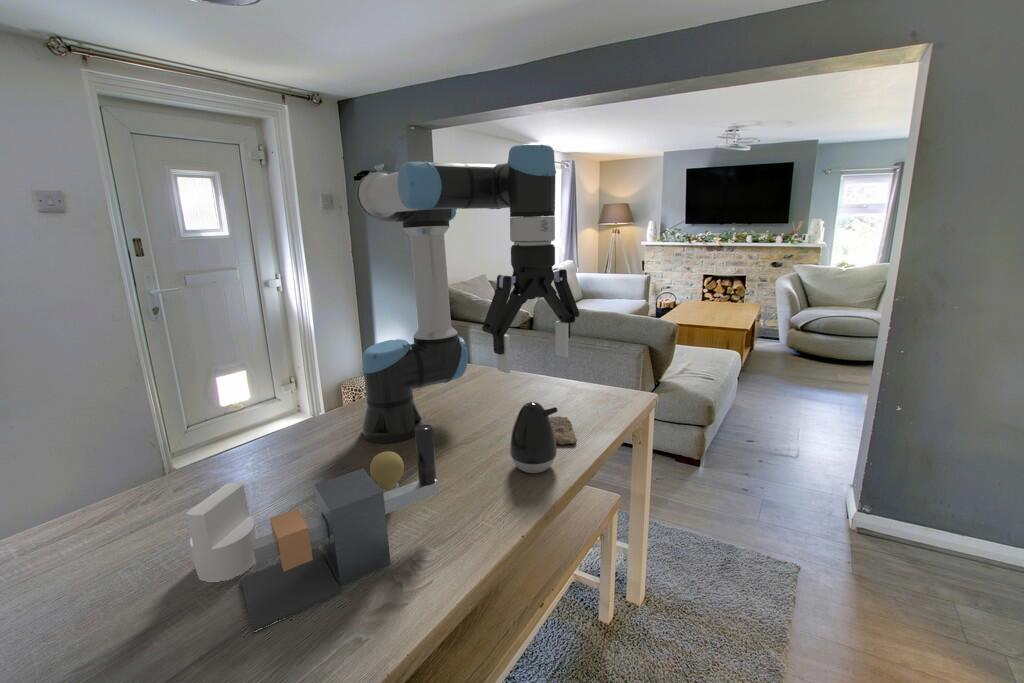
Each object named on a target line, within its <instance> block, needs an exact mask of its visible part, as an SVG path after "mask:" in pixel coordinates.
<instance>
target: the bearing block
mask: <svg viewBox="0 0 1024 683" xmlns="http://www.w3.org/2000/svg"><path fill="white" fill-rule="evenodd" d="M313 486H314V487H313V488H314V494H315V500H316V501H315V503H316V506H317V508H316V509H317V514H318V516H317V517H319V516H321V515H324V516H325V518H326V520H327V522H328V529H329V536H328V537H326V538H323V539H321V542H322V547H323V548H322V549H323V555H324V556H325V558H326V561H327V562H328V564H329V566H330V568H331V570H332V572H333V574H334V575H335V577H336V580H337V582H338V583H339V585H340V587H342V586H344V585H347V584H349V583H350V582H353V581H355V580H357V579H360V578H362V577H364V576H366V575H368V574H371V573H373V572H375V571H377V570H379V569H382V568H384V567H385V566H389V565H390V564H391V563H392V562H391V555H390V553H391V552H390V544H389V536H388V535H389V533H388V525H387V514H385V504H384V495H383V491H382V490H381V489H380V487H379V486H380V485H379V484H378V483H376V482H375V481H374V480H373V478H372V476H371V475H370V474H368V472H367V471H366V470H365V468H360V469H358V470H354V471H351V472H348V473H346V474H343V475H339V476H336V477H333V478H330V479H326V480H324V481H320V482H317V483H314V484H313Z"/></svg>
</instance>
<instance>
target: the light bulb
mask: <svg viewBox="0 0 1024 683" xmlns="http://www.w3.org/2000/svg"><path fill="white" fill-rule="evenodd" d="M404 468H405V464H404V461H403V459H402V457H401V456H400V455H399V454H398V453H397V452H395V451H389V450H388V451H387V450H386V451H382V452H380V453H378V454H376V455H375V456H374V457H373V458H372V459H371V462H370V466H369V472H370V477H371V478H372V479H373V480H374V482H375V483H376V484H377V485H378V486H379V487H380V489H381V490H382V491H383V493H385V492H388V491H391V490H393V489H396V488H399V487H400V486H399V481H400V479H401V477H402V476H403V474H404V471H405V470H404Z"/></svg>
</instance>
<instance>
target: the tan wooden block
mask: <svg viewBox="0 0 1024 683" xmlns="http://www.w3.org/2000/svg"><path fill="white" fill-rule="evenodd" d="M269 521H270V526H271V531H272V533H274V535H275V537H276V540H277V542H278V547H279V553H280V555H279V558H280V562H281V565H282V568H283V571H287V570H289V569H292V568H294V567H297V566H299V565H301V564H304V563H306V562H309V561H311V560H313V557H312V551H311V550H312V546H311V544H312V543H310V538H309V531H308V527H307V525H306V523H305V521H306V520H305V519H304V517H303V515H302V512H301V511H300V509H299V508H296V509H292V510H290V511H287V512H283V513H281V514H279V515H275V516H272V517H270V518H269ZM272 533H271V534H272Z"/></svg>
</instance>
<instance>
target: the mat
mask: <svg viewBox="0 0 1024 683" xmlns="http://www.w3.org/2000/svg"><path fill="white" fill-rule="evenodd" d="M311 551H312V557H313V560H311V561H309V562H306V563H304V564H301V565H299V566H297V567H294V568H292V569H289V570H287V571H283V568H282V565H281V561H280V562H278V563H275V564H273V565H271V566H268V567H265V568H263V569H261V570H257V571H254V572H253V573H250V574H247V575H245V576H243V577H240V583H241V588H242V592H243V596H244V600H246V601H245V605H246V609H247V612H248V617H249V621H250V625H252V626H251V629H253V630H252V633H253V632H254V631H256V630H258V629H260V628H264V627H266V626H268V625H270V624H272V623H274V622H276V621H279V620H282V619H284V618H286V619H288V618H290V617H292V616H291V615H293V614H295V615H296V613H297V614H299V613H301V612H303V611H306V610H308V609H310V608H312V607H314V606H316V605H319V604H320V603H323V602H325V601H327V600H330V599H331V598H334V597H336V596H337V595H341V589H340V588H339V585H338V584H337V581H336V580H335V577H334V576H333V574H332V572H331V569H330V568H329V566H328V564H327V562H326V560H325V558H324V556H323V554H322V553H321V550H320V548H319V547H316V548H313V549H311ZM298 612H299V613H298ZM289 616H290V617H289ZM293 616H294V615H293ZM287 617H288V618H287ZM284 620H285V619H284ZM282 621H283V620H282ZM266 628H267V627H266ZM264 629H265V628H264Z"/></svg>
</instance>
